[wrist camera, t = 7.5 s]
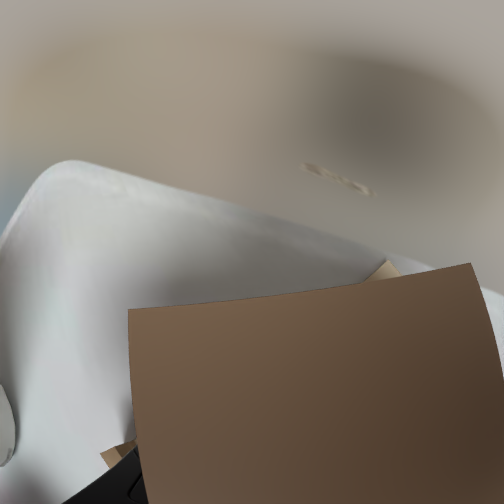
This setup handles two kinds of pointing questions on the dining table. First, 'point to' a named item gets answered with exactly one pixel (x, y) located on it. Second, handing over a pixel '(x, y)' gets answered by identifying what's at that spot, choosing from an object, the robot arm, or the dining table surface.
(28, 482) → the dining table surface
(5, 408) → the supplement can
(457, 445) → the walnut block
